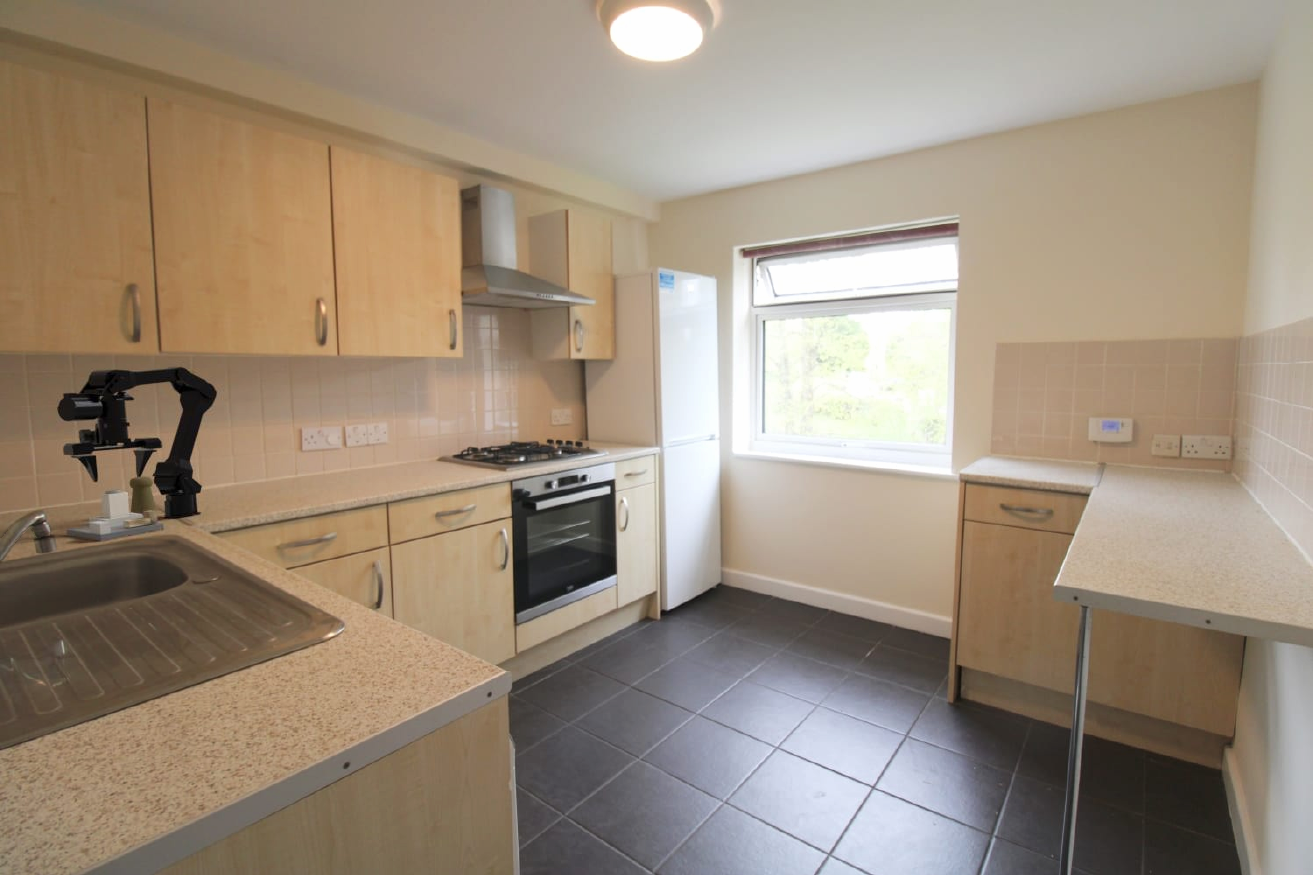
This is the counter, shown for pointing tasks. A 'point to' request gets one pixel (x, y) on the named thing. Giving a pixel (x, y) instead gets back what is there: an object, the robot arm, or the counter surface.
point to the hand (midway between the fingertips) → (117, 479)
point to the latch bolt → (142, 519)
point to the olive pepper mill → (142, 495)
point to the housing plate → (111, 528)
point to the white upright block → (114, 504)
